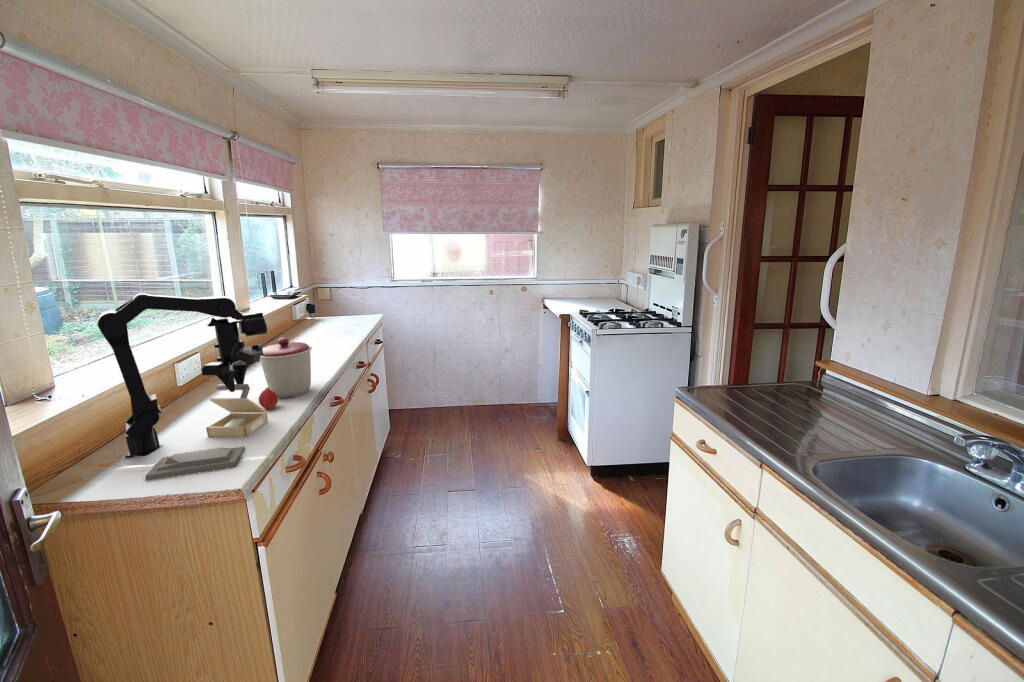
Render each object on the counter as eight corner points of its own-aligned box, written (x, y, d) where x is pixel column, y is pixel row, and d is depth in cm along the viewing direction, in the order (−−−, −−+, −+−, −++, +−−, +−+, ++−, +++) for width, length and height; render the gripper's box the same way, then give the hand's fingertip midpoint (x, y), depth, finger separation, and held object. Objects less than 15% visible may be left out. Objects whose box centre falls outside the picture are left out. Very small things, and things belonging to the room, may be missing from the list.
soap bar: (238, 432, 144) (237, 426, 144) (224, 433, 144) (223, 426, 143) (247, 424, 150) (246, 418, 149) (233, 424, 150) (232, 418, 149)
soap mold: (163, 463, 129) (161, 451, 128) (246, 452, 134) (244, 440, 133) (146, 483, 119) (143, 470, 118) (236, 470, 124) (233, 457, 123)
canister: (252, 400, 172) (242, 343, 167) (286, 384, 189) (278, 331, 184) (296, 403, 167) (287, 344, 162) (327, 386, 184) (320, 332, 179)
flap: (246, 400, 141) (251, 383, 144) (209, 400, 142) (215, 383, 145) (265, 412, 151) (270, 396, 153) (230, 412, 152) (235, 396, 154)
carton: (247, 438, 141) (245, 427, 140) (208, 438, 142) (206, 427, 141) (268, 423, 152) (266, 412, 151) (232, 422, 153) (230, 412, 152)
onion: (258, 414, 159) (254, 391, 157) (262, 407, 165) (258, 385, 163) (278, 411, 161) (274, 388, 159) (281, 405, 166) (277, 383, 164)
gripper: (233, 346, 133) (242, 400, 136) (272, 332, 151) (279, 380, 154) (195, 346, 134) (205, 400, 137) (238, 332, 152) (246, 380, 155)
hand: (236, 389), depth 146 cm, fingers open, 3 cm apart
